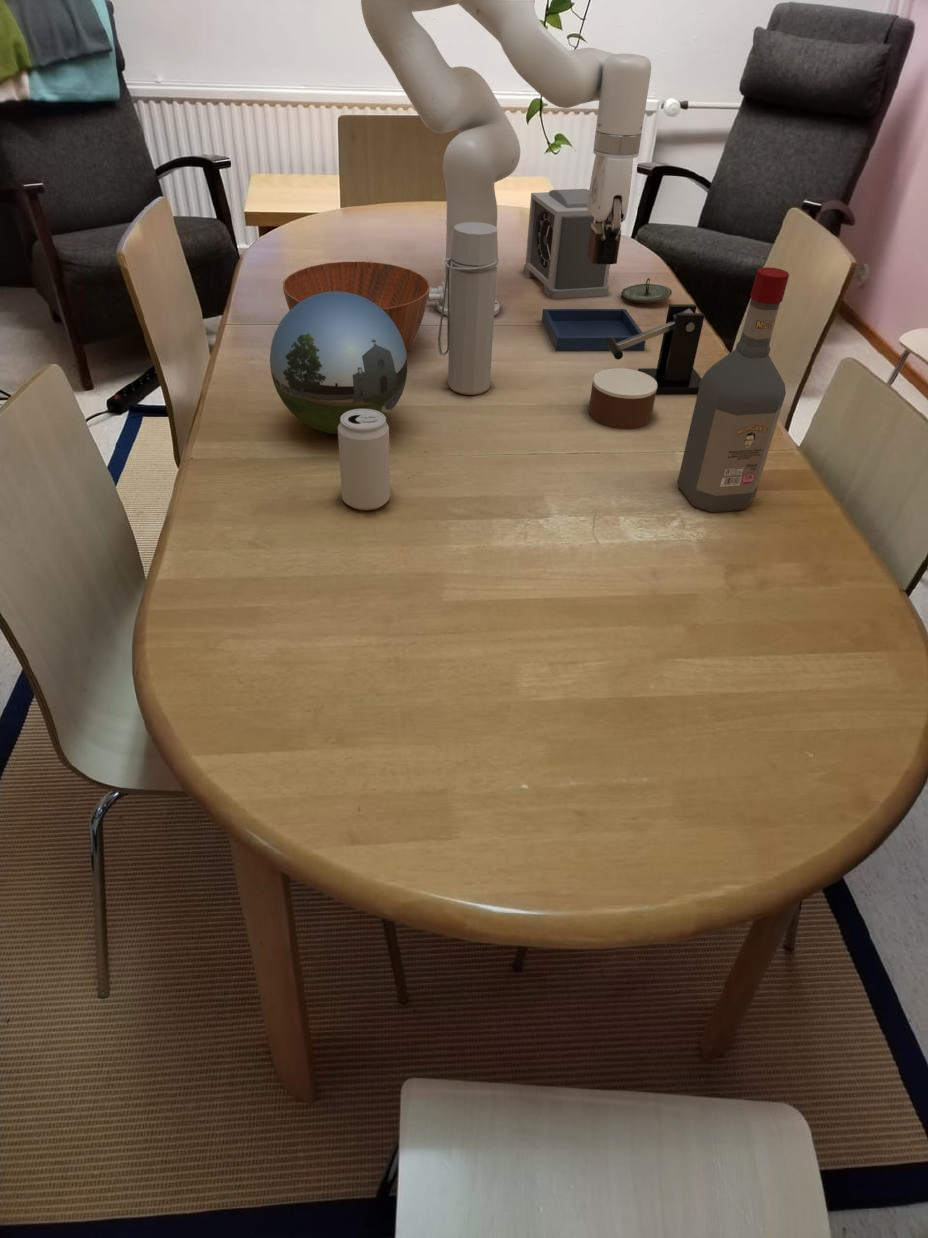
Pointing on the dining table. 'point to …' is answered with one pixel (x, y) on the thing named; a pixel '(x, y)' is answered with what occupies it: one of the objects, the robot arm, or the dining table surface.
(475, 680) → the dining table surface
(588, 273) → the alarm clock
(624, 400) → the cake
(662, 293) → the lid
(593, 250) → the cake slice
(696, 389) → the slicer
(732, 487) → the liquor
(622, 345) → the lever
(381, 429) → the beverage can
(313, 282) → the bowl
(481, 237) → the water bottle
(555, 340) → the tray
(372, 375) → the decorative sphere
